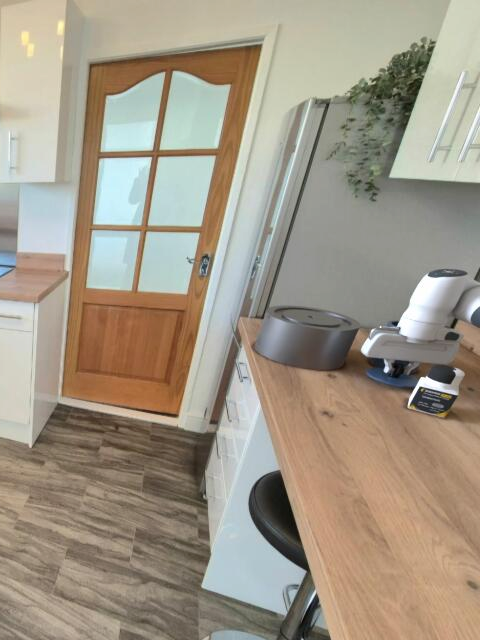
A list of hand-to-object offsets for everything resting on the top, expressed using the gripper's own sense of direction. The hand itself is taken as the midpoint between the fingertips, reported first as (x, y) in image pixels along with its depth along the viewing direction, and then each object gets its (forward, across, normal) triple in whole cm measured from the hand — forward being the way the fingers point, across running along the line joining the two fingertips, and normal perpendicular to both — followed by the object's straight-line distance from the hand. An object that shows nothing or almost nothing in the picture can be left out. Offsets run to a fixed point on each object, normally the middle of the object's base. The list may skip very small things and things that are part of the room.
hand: (395, 373), depth 125 cm
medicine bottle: (+4, +1, -14) cm, 15 cm away
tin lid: (+2, 0, 0) cm, 2 cm away
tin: (+4, +8, +15) cm, 17 cm away
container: (+4, -18, +17) cm, 26 cm away
